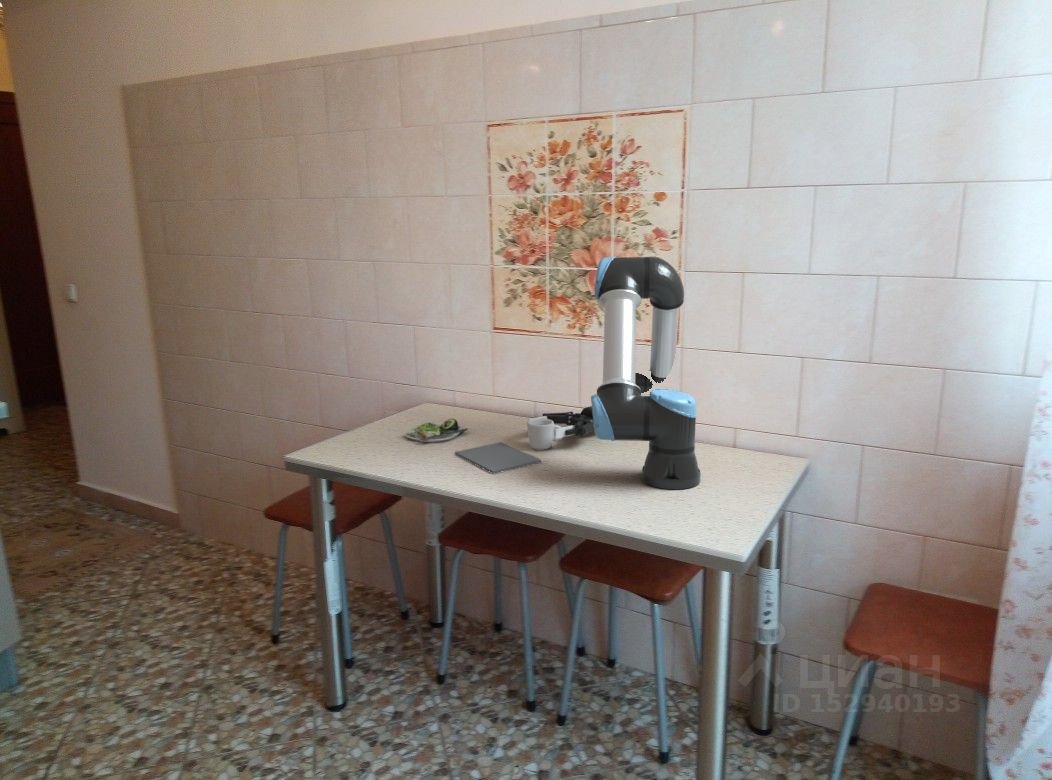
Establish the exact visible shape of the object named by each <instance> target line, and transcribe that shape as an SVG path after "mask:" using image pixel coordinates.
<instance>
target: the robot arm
mask: <svg viewBox="0 0 1052 780" xmlns="http://www.w3.org/2000/svg"><path fill="white" fill-rule="evenodd" d="M594 298H595V299H596V300H597V299H598V300H599V305H600V306H601V307H602V308H603V309H604V319H603V320H604V321H603V323H604V324H603V359H602V365H603V367H602V369H603V370H602V384H600V385H599V386H597V388H596V394H593V395H591V397H590V401H591V402H590V403H591V405H590V406H586V407H584V408H583V409H582V410H581V411H580V413H578V412H576V413H574V412H573V411H567V412H550V413H548V412H547V413H545V412H544V413H542V416H538V417H534V418H528V419H527V422H528V421H529V420H532V419H550V420H552V421H553V422H554V425H561V424H562V425H566V426H563V427H562V428H558V429H554V436H555V439H557V438H562V439H563V438H566V437H570V436H574V435H575V436H578V435H580V437H585V436H586V435H588V434H590V433H591V432H594V435H595V437H596V438H597V439H599V440H602V441H603V440H605V441H611V442H614V441H625V442H626V441H630V442H631V441H632V442H648V451H647V454H646V457H645V461H644V464H643V466H642V468H641V480H642V481H643V483H644V484H647V485H649V486H651V487H655V488H660V489H665V490H666V489H667V490H685V489H690V488H694V487H696V486H698V485H699V484H700V483H701V475H702V474H701V469H700V468H699V464H698V460H697V456H696V447H695V446H696V420H697V417H698V414H697V403H696V400H695V398H694V397H693V396H692V395H690V394H687V393H685V392H682V391H674V390H668V389H655V390H652V391H651V392H650V394H649V395H642V394H641V393H644V392H647V391H649V389H651V388H652V385H653V384H652V381H651V382H650V379H648V378H647V377H646V376H644V375H642V374H639V373H635V370H636V349H637V348H636V345H637V343H636V337H637V334H636V331H637V330H636V327H637V326H636V325H637V320H636V317H637V315H636V314H637V313H636V312H637V310H636V309H637V308H639V307H640V305H641V304H642V300H643V299H644V300H645V299H647V300H648V299H649V304H650V306H651V307H652V319H651V322H652V323H651V338H650V339H651V340H650V341H651V342H650V361H649V363H650V364H649V371H651V377H652V379H653V380H654V381H655V382H656V383H657V382H658V383H661V381H662V382H663V381H664V379H666V377H667V376H668V374H669V373H670V371H671V369H672V366H673V363H674V359H675V360H676V358H675V354H676V355H677V345H678V342H677V341H678V333H679V332H678V330H679V317H680V308H682V306H683V305H684V301H685V290H684V285H683V282H682V279H681V277H680V275H679V273H678V272H677V270H676V269H675V268H674V267H673V266H672V264H670V263H669V262H668V261H666V260H665V259H663V258H661V257H658V256H629V257H628V256H627V257H626V256H625V257H623V256H622V257H620V256H619V257H618V256H611V257H603V258H601V259H600V260H599V262H598V264H597V268H596V273H595V283H594Z"/></svg>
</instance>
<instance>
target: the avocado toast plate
mask: <svg viewBox="0 0 1052 780" xmlns="http://www.w3.org/2000/svg"><path fill="white" fill-rule="evenodd" d="M468 430H469V428H463V427H462V426H461V425H459V423H458V421H457V419H456V418H449V419H446V420H444V422H442V423H434V422H427V423H426V422H425V423H421V424H419V425H417V426H415V427H414V428H411V429H410V430H408V431H406V432H405V433H404V435H405V437H406V438H407V439H408V440H410V441H413V442H416V441H417V442H418V443H425V442H426V444H427V443H428V444H429V443H430V444H432V443H431V442H434V443H443V442H448V440H449V441H451V440H453V439H454V437H455V438H456V436H457V437H458V436H460V435H462V434H463V433H465V432H467V431H468ZM417 434H420V435H422V437H423V438H420V437H415V436H416V435H417ZM442 441H443V442H442Z"/></svg>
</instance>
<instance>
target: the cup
mask: <svg viewBox="0 0 1052 780" xmlns="http://www.w3.org/2000/svg"><path fill="white" fill-rule="evenodd" d="M531 419H532V418H531ZM526 425H527V426H526V427H527V434H528V443H529V447H530V448H532V449H534V450H538V451H539V450H542V451H543V450H547V449H550V448H551V446H552V445H553V442H558V441H561V440H562V439H563V437H562V438H557V439H555V435H554V429H558V428H563V427H562V426H560V425H559V424H554V422H553V421H552V420H550V419H532V420H529V421H528V420H527V423H526Z"/></svg>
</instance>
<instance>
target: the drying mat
mask: <svg viewBox="0 0 1052 780" xmlns="http://www.w3.org/2000/svg"><path fill="white" fill-rule="evenodd" d="M454 454H456V456H457V455H458V456H457V457H459V456H460V457H459V458H461V457H462V458H461V459H463V458H464V459H463V460H465V459H466V460H465V461H467V460H468V461H467V462H469V461H470V462H469V463H471V462H472V463H471V464H473V463H474V464H473V465H475V464H476V465H475V466H477V465H478V466H480V467H481V468H480V467H479V468H480V469H482V468H484V469H485V470H484V469H483V470H484V471H486V470H487V471H486V472H488V471H490V472H492V473H495V474H498V473H497V472H500V473H502V472H501V471H504V472H506V471H505V470H508V471H510V470H509V469H512V470H515V468H516V469H519V467H520V468H524V467H528V466H527V465H529V466H533V465H536V463H537V464H540V463H542V459H541V458H538V457H536V456H534V455H532V454H529V453H527V452H526V451H525V452H524V451H523V450H520V449H517V448H516V447H514V446H511V445H509V444H507V443H504V442H502V441H500V442H494V443H490V444H486V445H481V446H476V447H471V448H467V449H463V450H458V451H454ZM532 464H533V465H532ZM478 466H477V467H478ZM523 466H524V467H523ZM490 472H489V473H490ZM492 473H491V474H492Z"/></svg>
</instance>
